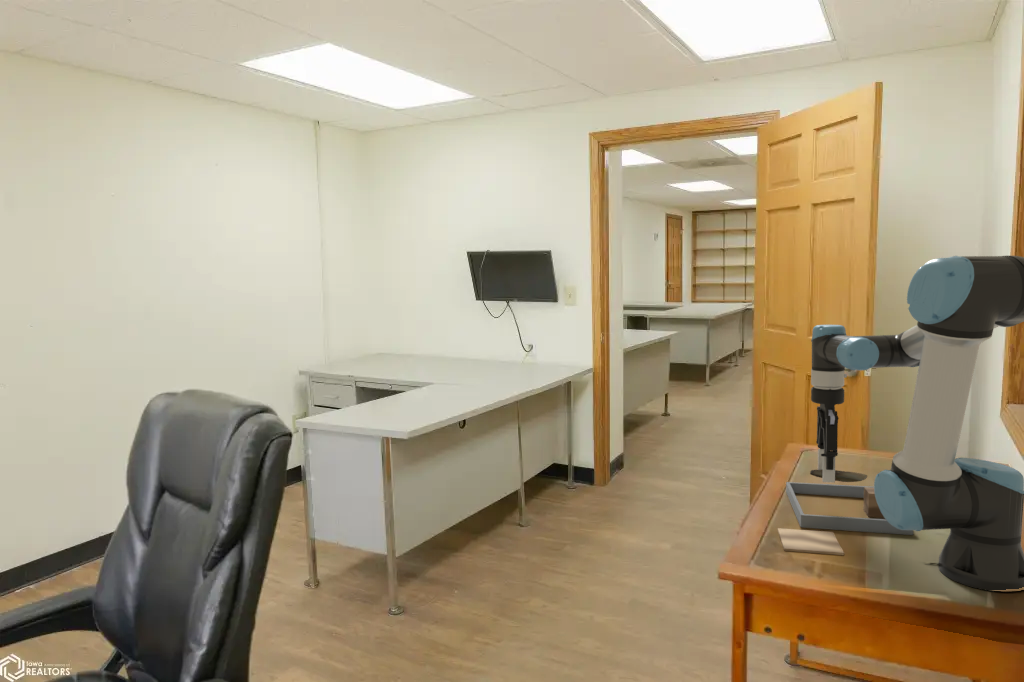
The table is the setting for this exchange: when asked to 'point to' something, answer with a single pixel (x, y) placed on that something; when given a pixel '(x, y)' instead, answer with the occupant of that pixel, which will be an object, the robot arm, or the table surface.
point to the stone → (842, 475)
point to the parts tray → (836, 521)
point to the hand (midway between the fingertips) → (826, 477)
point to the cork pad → (810, 541)
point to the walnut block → (871, 503)
